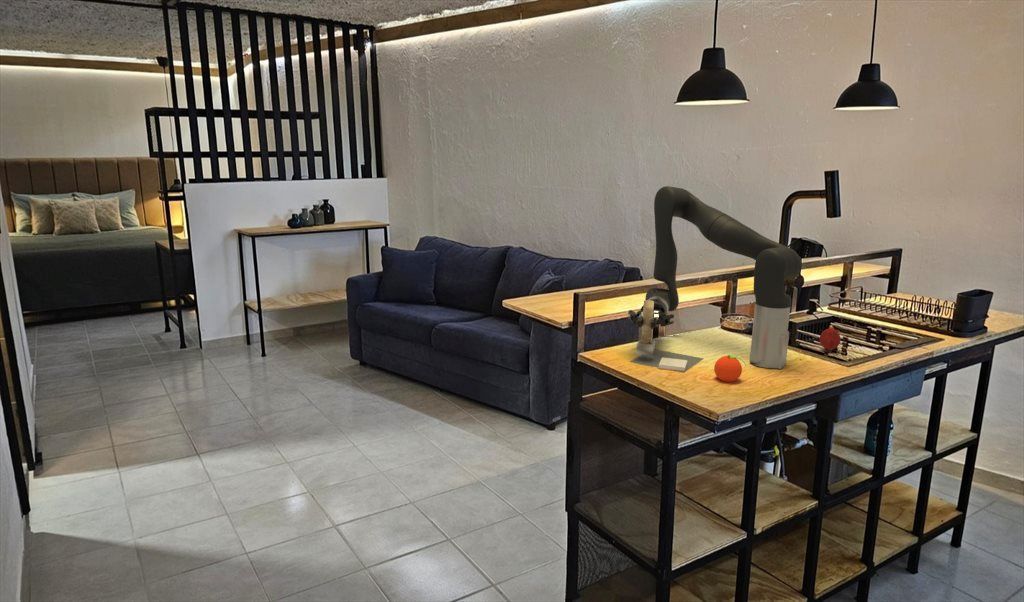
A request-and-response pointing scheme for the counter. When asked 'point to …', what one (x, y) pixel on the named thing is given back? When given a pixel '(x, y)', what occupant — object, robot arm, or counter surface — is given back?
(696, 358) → the mat
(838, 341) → the onion
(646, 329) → the pusher
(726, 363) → the clementine
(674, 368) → the tile
